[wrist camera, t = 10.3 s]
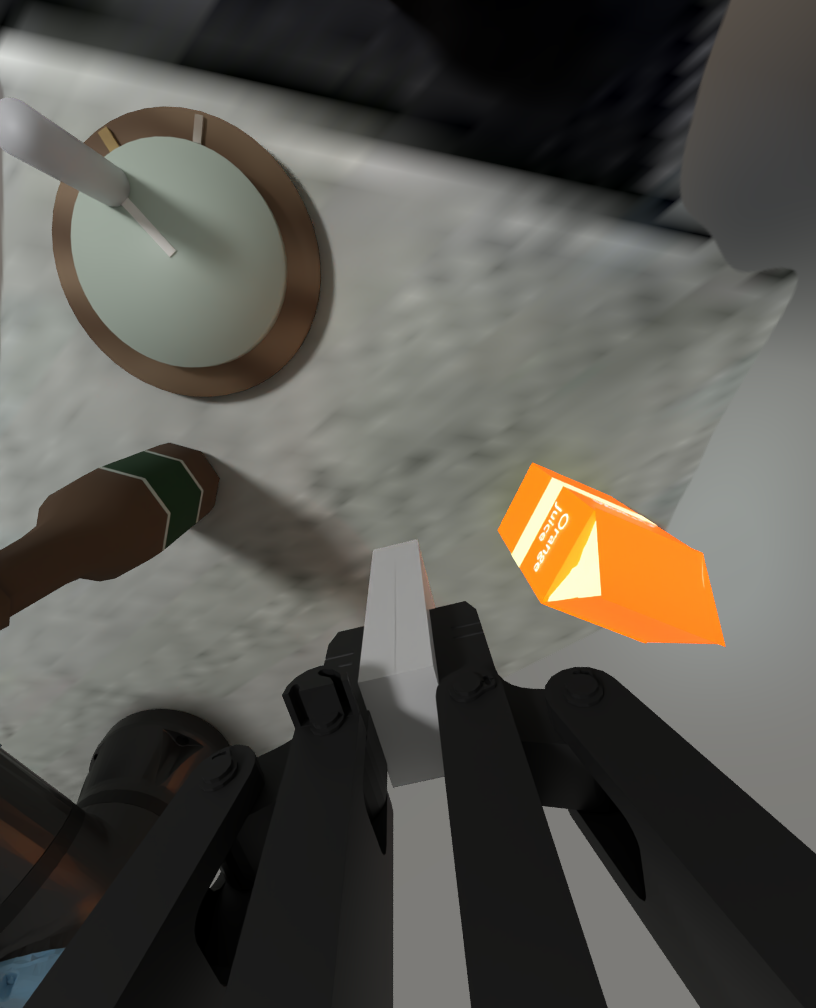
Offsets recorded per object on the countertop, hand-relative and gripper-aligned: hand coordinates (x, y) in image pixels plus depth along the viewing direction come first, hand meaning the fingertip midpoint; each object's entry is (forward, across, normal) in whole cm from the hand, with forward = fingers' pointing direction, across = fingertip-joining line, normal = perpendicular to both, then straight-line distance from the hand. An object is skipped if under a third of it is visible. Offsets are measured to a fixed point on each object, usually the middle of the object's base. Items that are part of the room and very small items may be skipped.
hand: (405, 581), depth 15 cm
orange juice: (+30, +13, -11) cm, 34 cm away
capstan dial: (+28, -13, +18) cm, 36 cm away
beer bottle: (+30, -21, +1) cm, 36 cm away
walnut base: (+29, -13, +18) cm, 37 cm away
